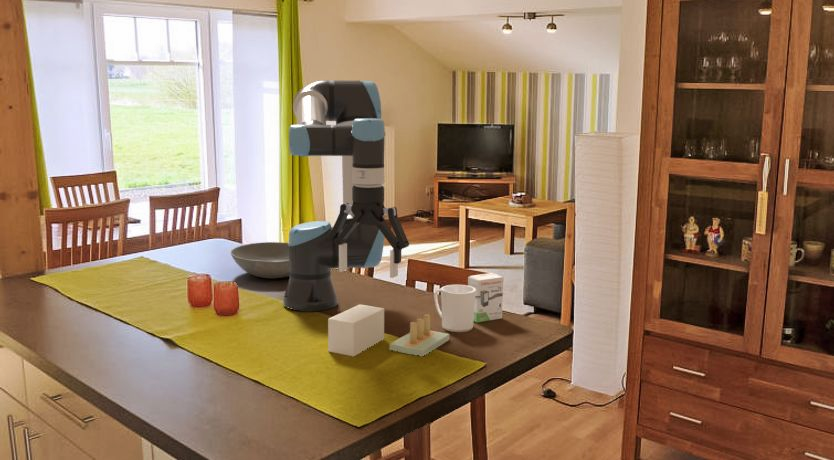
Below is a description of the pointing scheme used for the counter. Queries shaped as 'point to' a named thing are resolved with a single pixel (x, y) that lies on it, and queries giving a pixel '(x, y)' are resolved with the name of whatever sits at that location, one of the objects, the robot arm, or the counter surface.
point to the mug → (456, 307)
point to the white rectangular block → (355, 330)
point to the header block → (419, 338)
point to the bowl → (263, 259)
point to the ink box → (487, 296)
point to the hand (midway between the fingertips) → (368, 273)
